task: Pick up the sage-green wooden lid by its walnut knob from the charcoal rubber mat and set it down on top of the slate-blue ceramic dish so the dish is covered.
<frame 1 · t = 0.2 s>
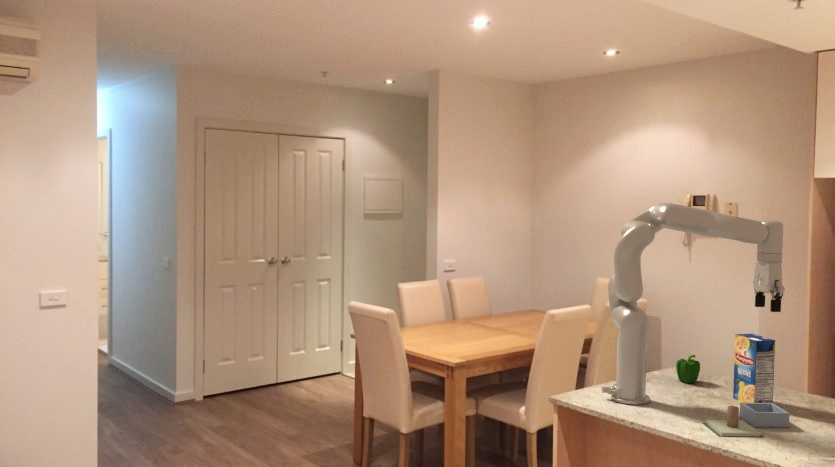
hand: (767, 309, 233), 31 cm above the counter, tool pointing down, fingers open, 9 cm apart
dish: (763, 424, 211), on the counter
bell pepper: (687, 382, 258), on the counter
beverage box: (752, 403, 233), on the counter
lid: (732, 429, 204), point 1 cm above the counter, touching mat
mat: (732, 431, 204), on the counter
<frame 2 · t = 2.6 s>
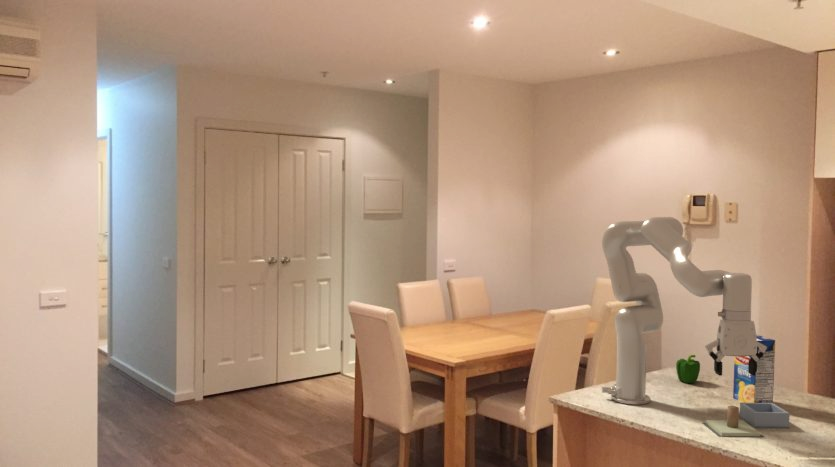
hand: (735, 374, 203), 17 cm above the counter, tool pointing down, fingers open, 9 cm apart
nothing on the counter moved.
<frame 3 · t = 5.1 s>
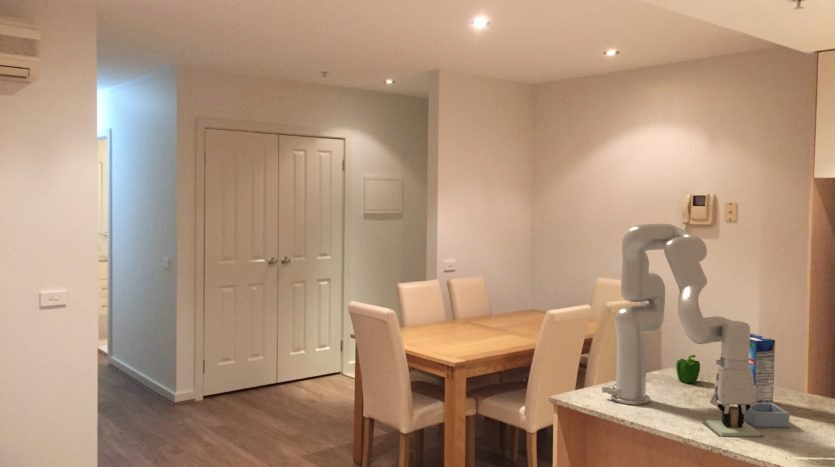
hand: (732, 425, 204), 2 cm above the counter, tool pointing down, fingers closed on lid, 3 cm apart
lid: (732, 429, 204), point 1 cm above the counter, touching gripper, mat
everything else where it was.
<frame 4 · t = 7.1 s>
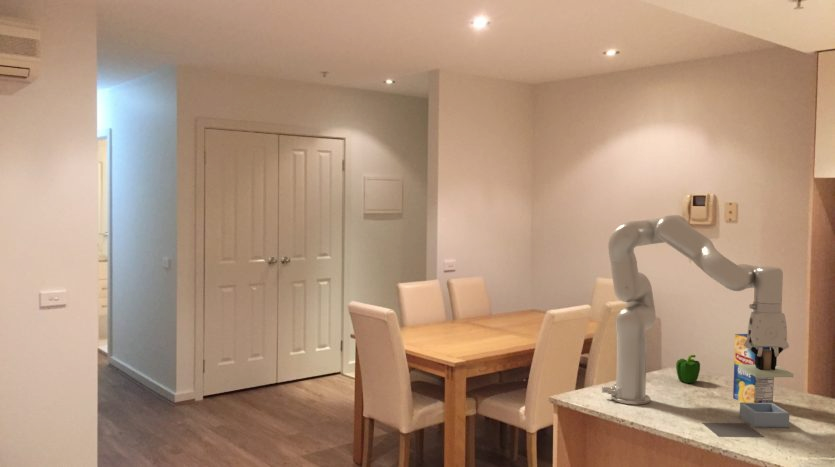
hand: (765, 368, 210), 17 cm above the counter, tool pointing down, fingers closed on lid, 3 cm apart
lid: (765, 372, 210), point 16 cm above the counter, touching gripper
everything else where it was.
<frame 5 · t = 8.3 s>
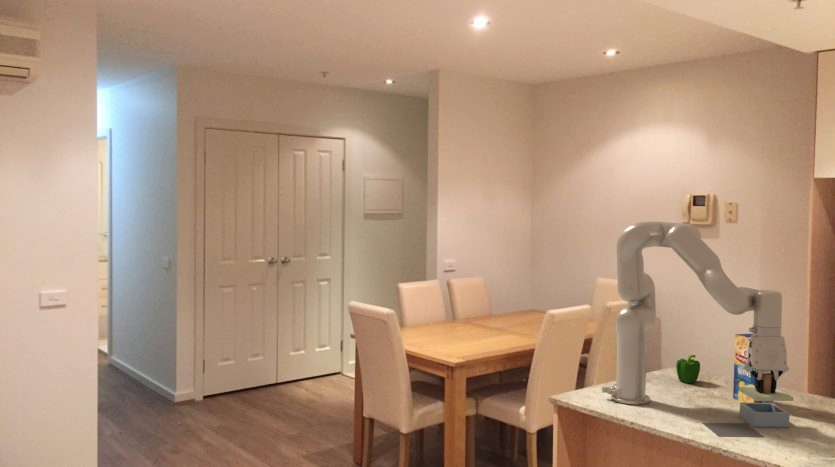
hand: (765, 391, 211), 10 cm above the counter, tool pointing down, fingers closed on lid, 3 cm apart
lid: (765, 395, 210), point 9 cm above the counter, touching gripper
everything else where it was.
when the fingers open (8 cm above the counter, at t = 9.4 s): lid drops 1 cm, resting on dish.
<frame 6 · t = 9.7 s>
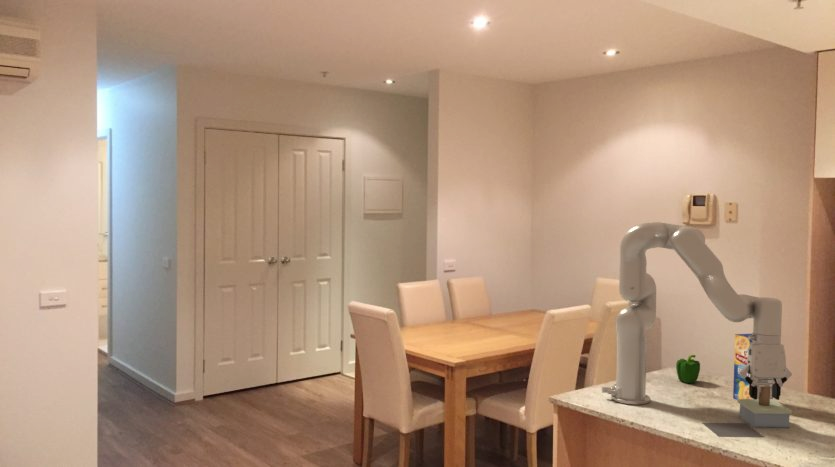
hand: (764, 397, 211), 8 cm above the counter, tool pointing down, fingers open, 6 cm apart
lid: (763, 407, 211), point 5 cm above the counter, touching dish
everything else where it was.
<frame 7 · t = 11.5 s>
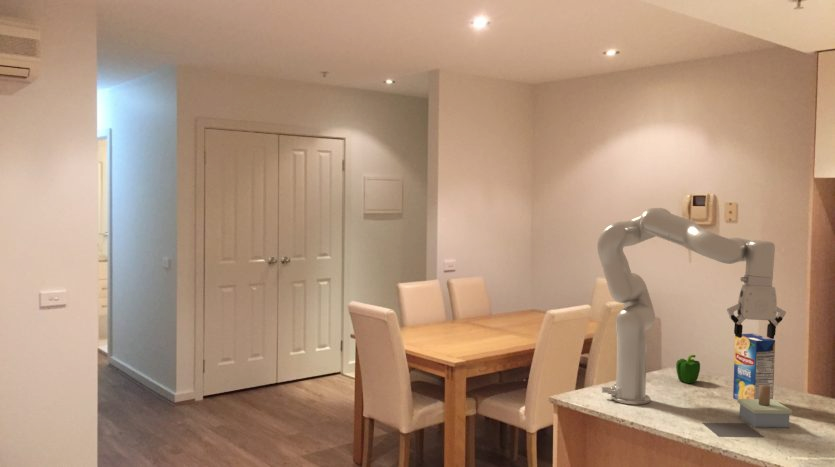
hand: (754, 337, 212), 26 cm above the counter, tool pointing down, fingers open, 9 cm apart
nothing on the counter moved.
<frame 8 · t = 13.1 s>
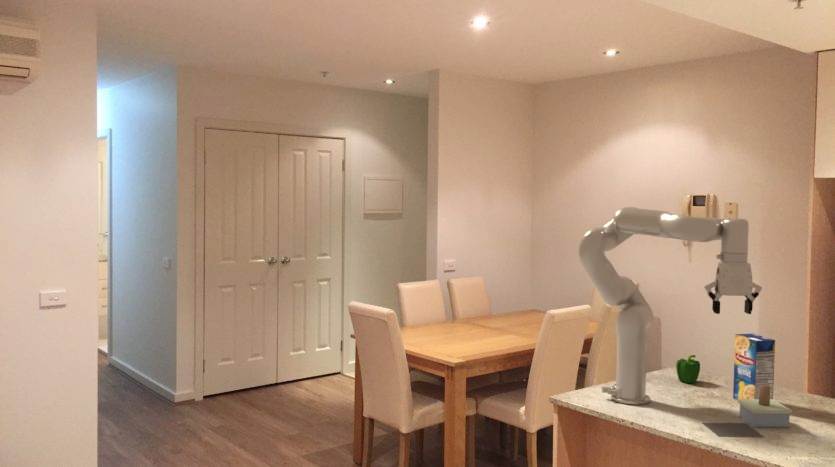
hand: (732, 313, 217), 32 cm above the counter, tool pointing down, fingers open, 9 cm apart
nothing on the counter moved.
at the end: lid 0.1 cm off-centre on the dish, point 5.0 cm above the dish's base; lid tilted 0°; the gripper is holding nothing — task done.
